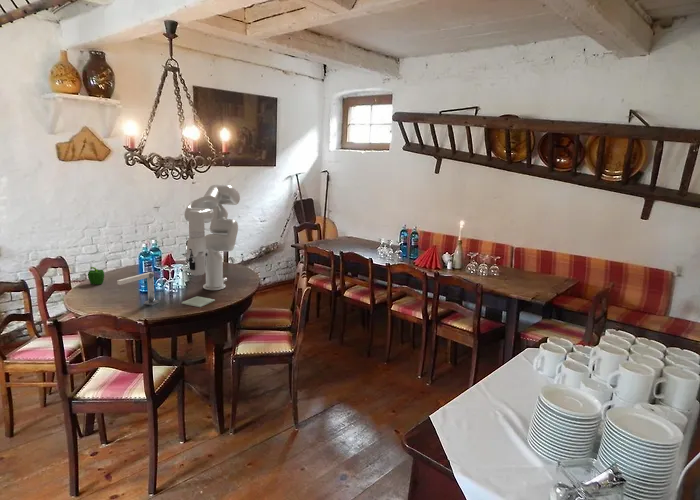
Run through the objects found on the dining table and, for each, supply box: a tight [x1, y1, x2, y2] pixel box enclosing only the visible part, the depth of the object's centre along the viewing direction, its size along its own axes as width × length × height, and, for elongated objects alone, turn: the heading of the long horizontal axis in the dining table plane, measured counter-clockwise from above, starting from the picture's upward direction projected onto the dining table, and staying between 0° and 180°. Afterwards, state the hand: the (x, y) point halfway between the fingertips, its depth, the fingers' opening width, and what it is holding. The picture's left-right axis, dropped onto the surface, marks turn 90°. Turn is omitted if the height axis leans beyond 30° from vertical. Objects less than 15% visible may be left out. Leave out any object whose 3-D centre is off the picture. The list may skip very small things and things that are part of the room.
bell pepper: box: [87, 266, 105, 286], centre depth 259 cm, size 8×8×10 cm
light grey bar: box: [116, 271, 155, 286], centre depth 222 cm, size 20×4×2 cm, turn 154°
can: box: [189, 252, 206, 277], centre depth 233 cm, size 8×8×12 cm
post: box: [143, 276, 160, 306], centre depth 231 cm, size 5×5×14 cm
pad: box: [181, 295, 216, 308], centre depth 238 cm, size 12×12×1 cm
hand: (197, 267), depth 234 cm, fingers closed on can, 7 cm apart
